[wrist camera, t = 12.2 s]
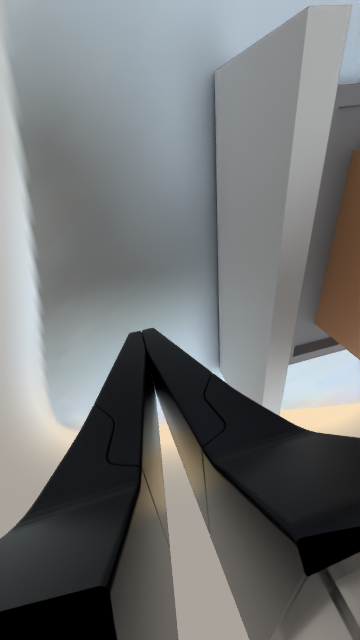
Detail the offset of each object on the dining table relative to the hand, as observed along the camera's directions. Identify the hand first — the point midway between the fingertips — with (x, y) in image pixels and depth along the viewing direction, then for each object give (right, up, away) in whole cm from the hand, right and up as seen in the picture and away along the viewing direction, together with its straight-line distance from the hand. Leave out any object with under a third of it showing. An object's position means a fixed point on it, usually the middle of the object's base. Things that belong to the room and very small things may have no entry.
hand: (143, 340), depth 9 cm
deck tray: (+10, +5, +6) cm, 13 cm away
